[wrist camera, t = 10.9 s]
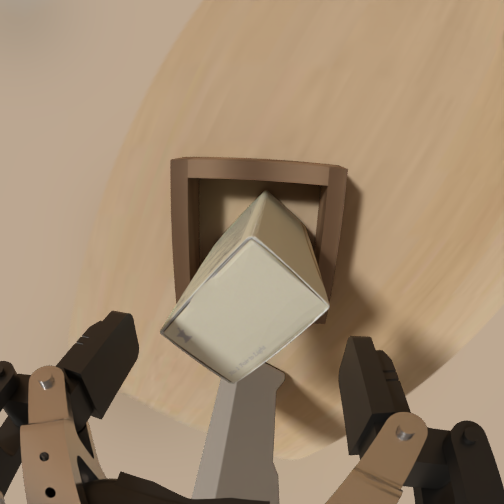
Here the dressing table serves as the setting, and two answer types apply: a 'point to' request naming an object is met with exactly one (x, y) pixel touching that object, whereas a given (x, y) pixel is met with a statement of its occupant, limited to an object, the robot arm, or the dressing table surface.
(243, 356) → the skincare box
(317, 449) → the dressing table surface
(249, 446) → the vintage mobile phone
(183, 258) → the walnut holder
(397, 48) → the dressing table surface
